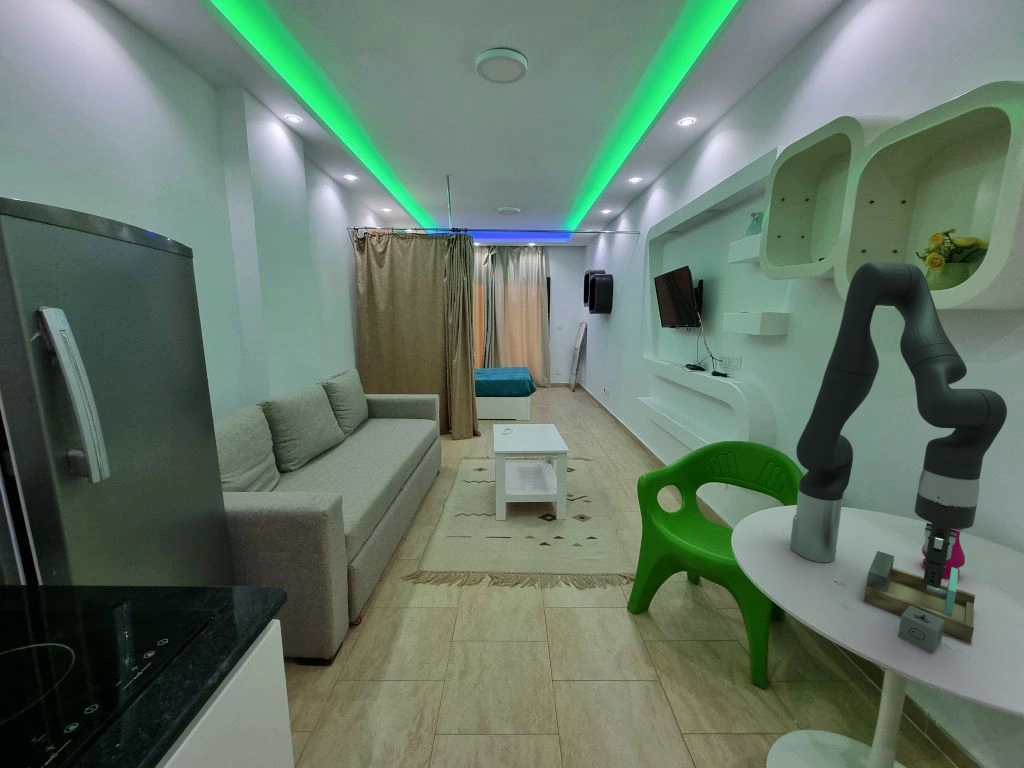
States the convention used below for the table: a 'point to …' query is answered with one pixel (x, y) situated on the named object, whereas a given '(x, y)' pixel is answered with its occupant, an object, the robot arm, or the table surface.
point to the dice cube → (921, 629)
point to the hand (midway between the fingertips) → (933, 575)
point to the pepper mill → (952, 557)
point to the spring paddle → (947, 592)
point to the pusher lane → (916, 597)
